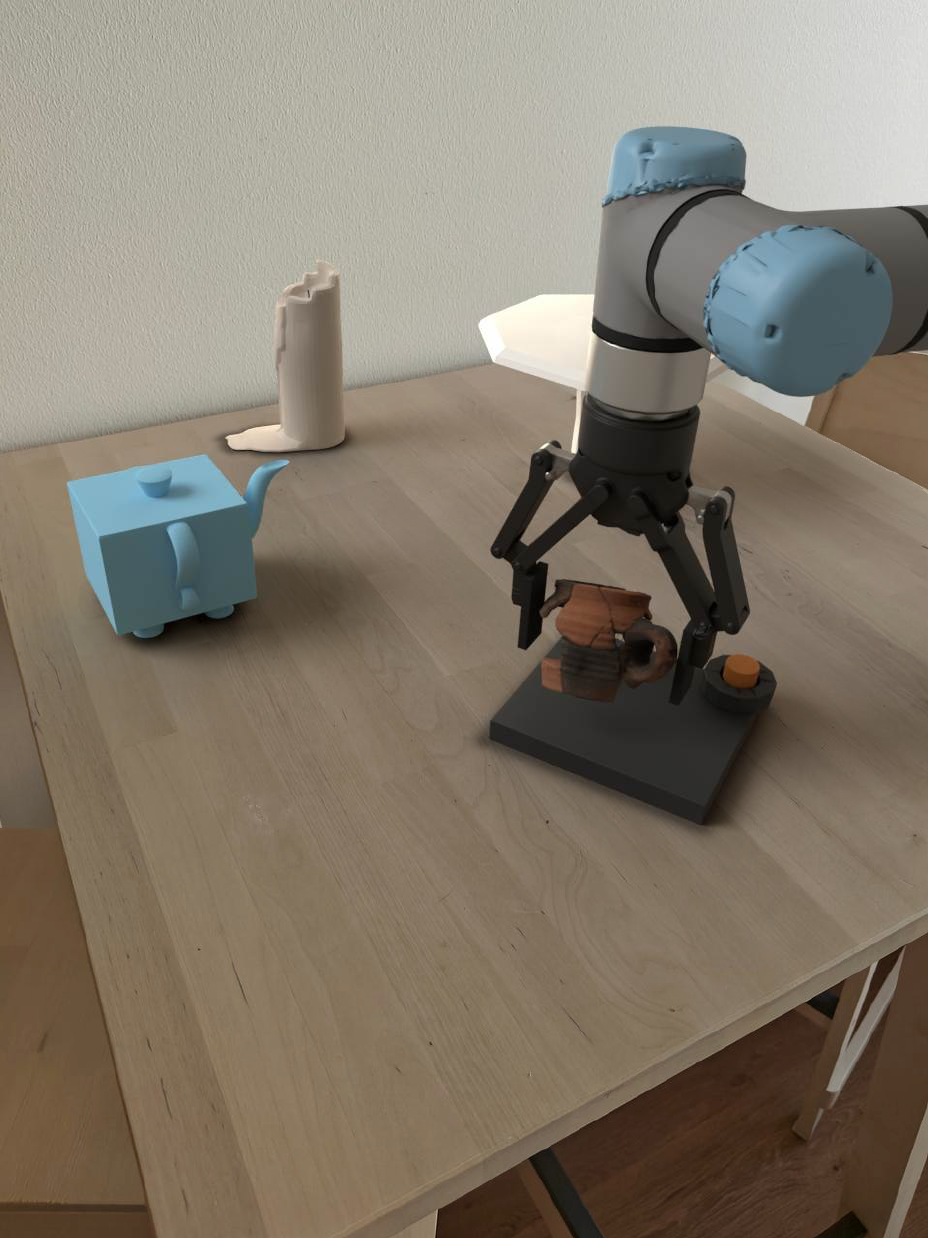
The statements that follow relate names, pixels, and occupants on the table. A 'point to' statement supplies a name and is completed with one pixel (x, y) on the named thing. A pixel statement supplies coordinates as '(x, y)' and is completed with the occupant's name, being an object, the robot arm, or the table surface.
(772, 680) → the scale
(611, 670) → the pottery mug
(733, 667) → the scale button
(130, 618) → the teapot
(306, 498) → the table surface
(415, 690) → the table surface
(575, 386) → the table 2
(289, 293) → the candle
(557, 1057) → the table surface
